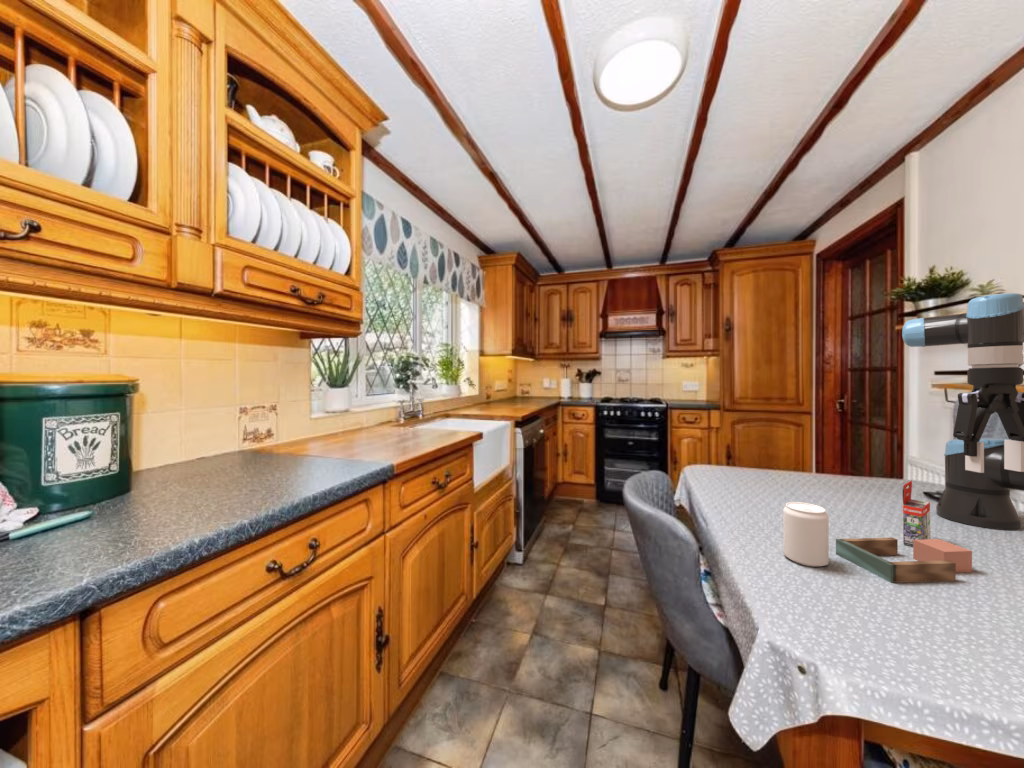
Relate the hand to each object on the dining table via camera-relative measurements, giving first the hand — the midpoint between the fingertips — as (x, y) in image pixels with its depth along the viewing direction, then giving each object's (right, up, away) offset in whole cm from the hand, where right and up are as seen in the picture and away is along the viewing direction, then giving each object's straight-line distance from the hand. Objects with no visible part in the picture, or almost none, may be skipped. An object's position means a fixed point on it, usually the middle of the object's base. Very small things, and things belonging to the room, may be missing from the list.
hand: (994, 470), depth 83 cm
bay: (-23, -21, 0) cm, 31 cm away
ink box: (-5, -21, +11) cm, 24 cm away
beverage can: (-39, -21, +3) cm, 44 cm away
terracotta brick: (-12, -21, 0) cm, 24 cm away
